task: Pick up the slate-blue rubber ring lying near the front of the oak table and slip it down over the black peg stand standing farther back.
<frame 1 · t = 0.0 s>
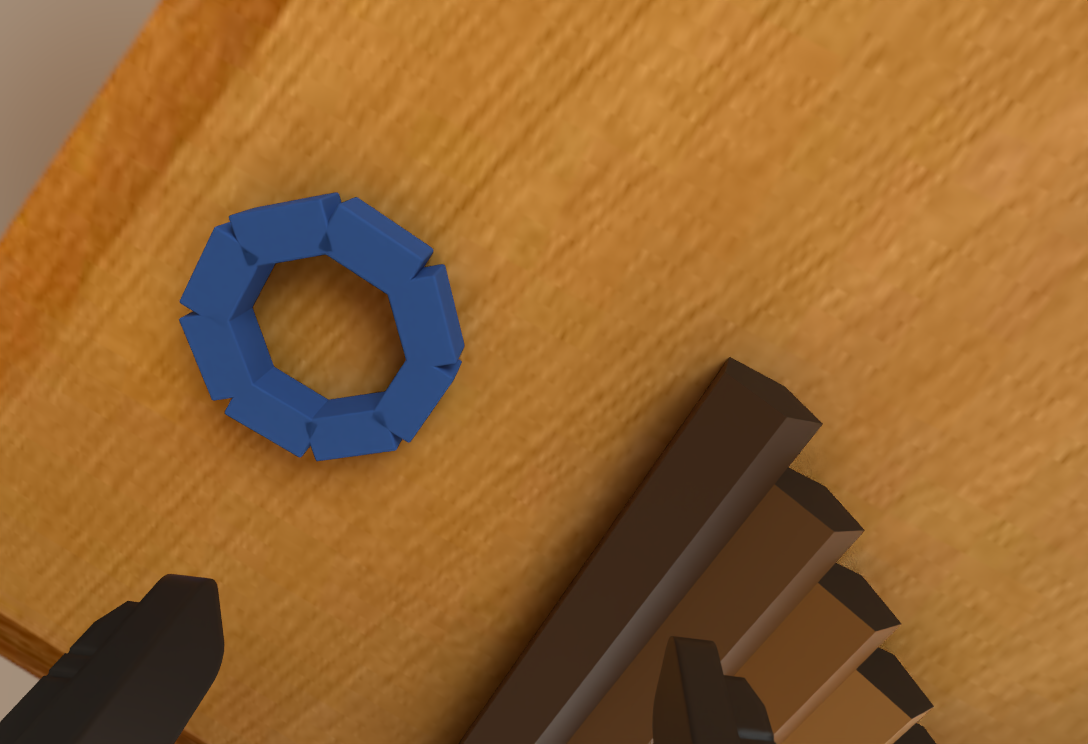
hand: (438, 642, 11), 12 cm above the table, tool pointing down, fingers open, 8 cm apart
ring: (335, 325, 22), on the table
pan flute: (794, 716, 28), on the table
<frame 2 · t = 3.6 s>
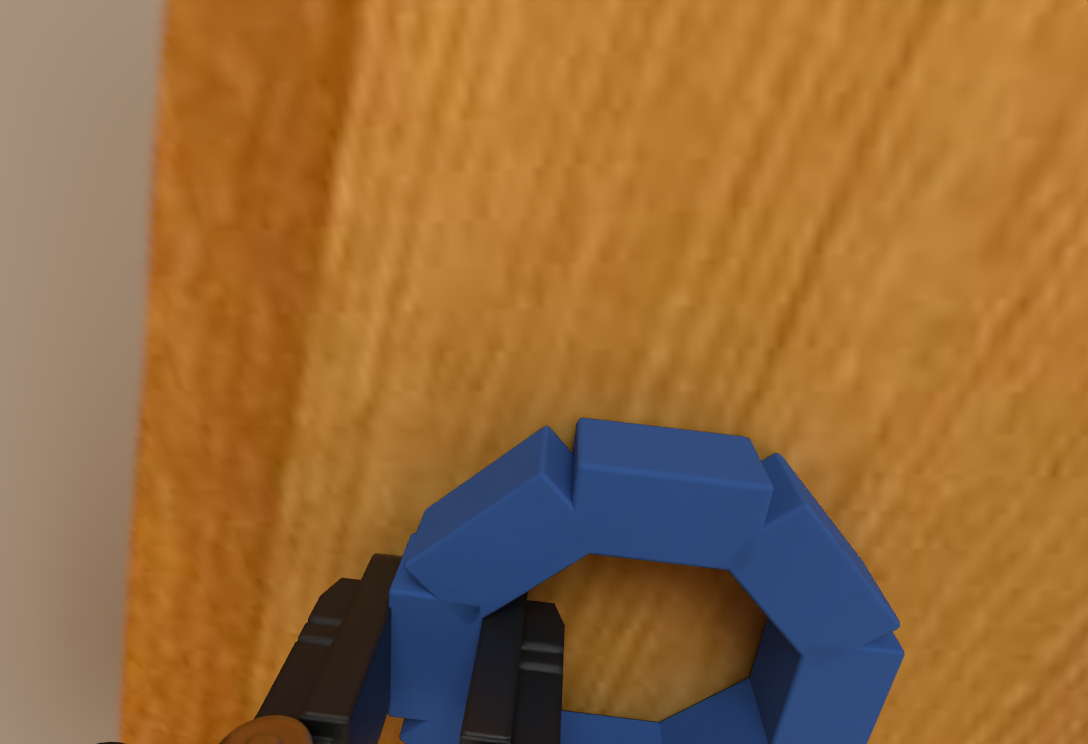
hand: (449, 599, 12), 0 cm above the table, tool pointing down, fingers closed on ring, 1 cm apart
ring: (626, 618, 12), on the table, touching gripper
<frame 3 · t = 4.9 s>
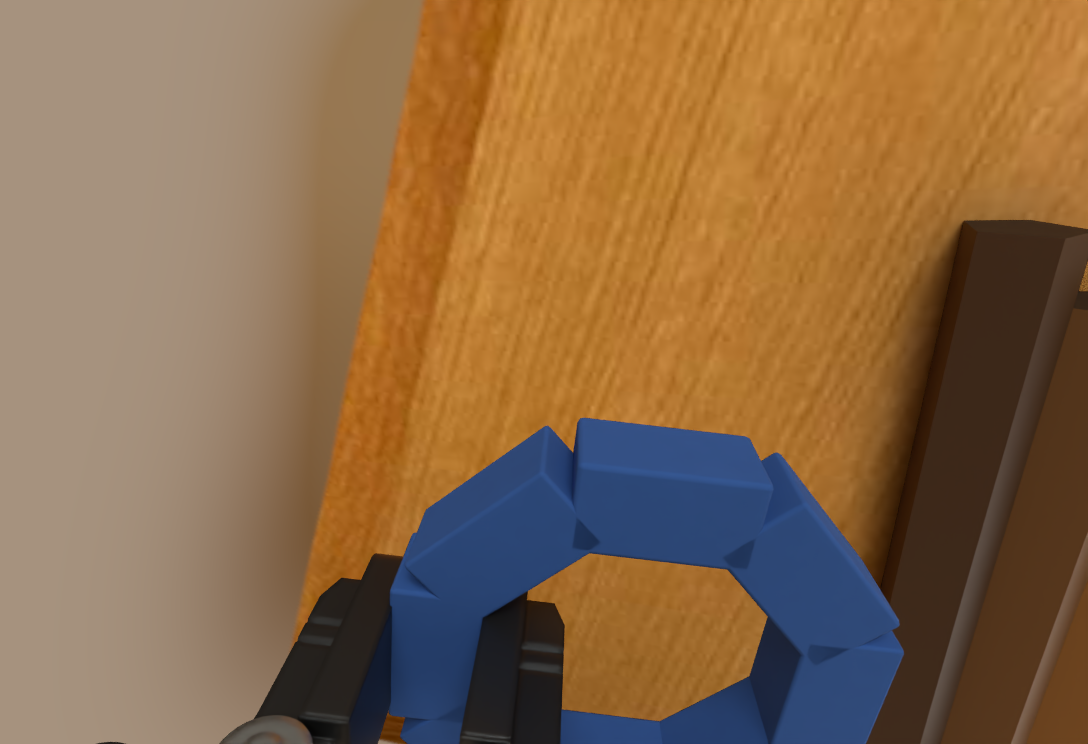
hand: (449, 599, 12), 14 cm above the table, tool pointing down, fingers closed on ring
ring: (626, 617, 12), point 13 cm above the table, touching gripper
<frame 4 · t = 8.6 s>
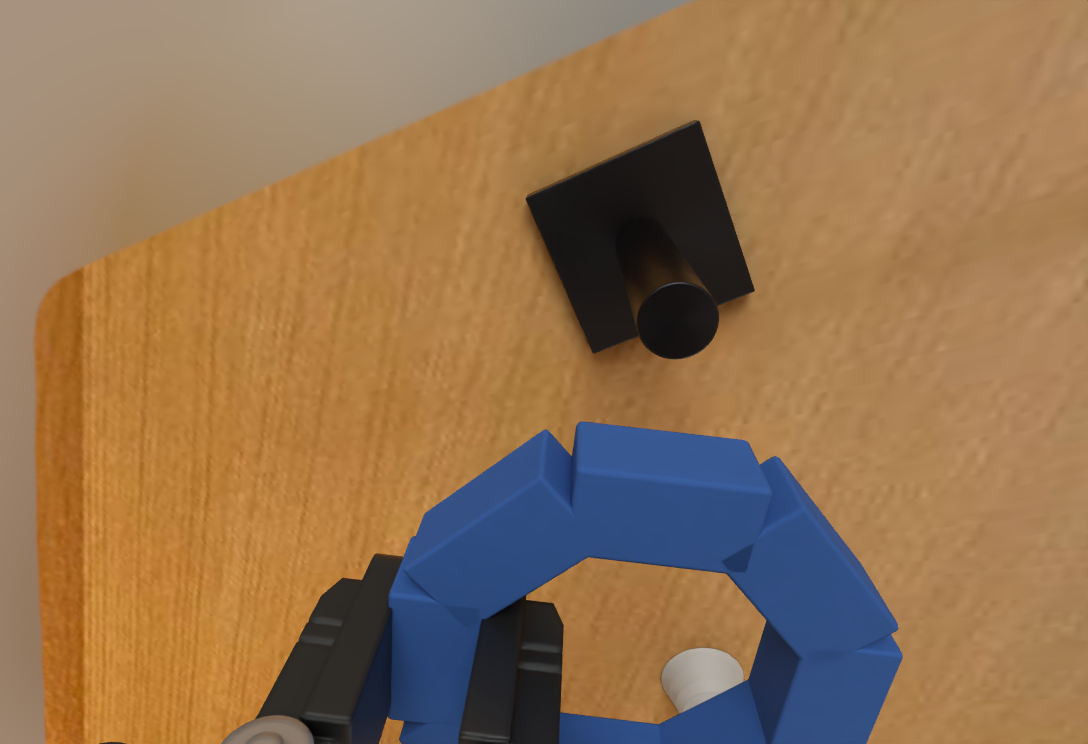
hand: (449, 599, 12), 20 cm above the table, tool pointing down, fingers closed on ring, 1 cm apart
black peg stand: (640, 241, 30), on the table
chalice: (701, 676, 40), on the table
ring: (625, 620, 12), point 20 cm above the table, touching gripper
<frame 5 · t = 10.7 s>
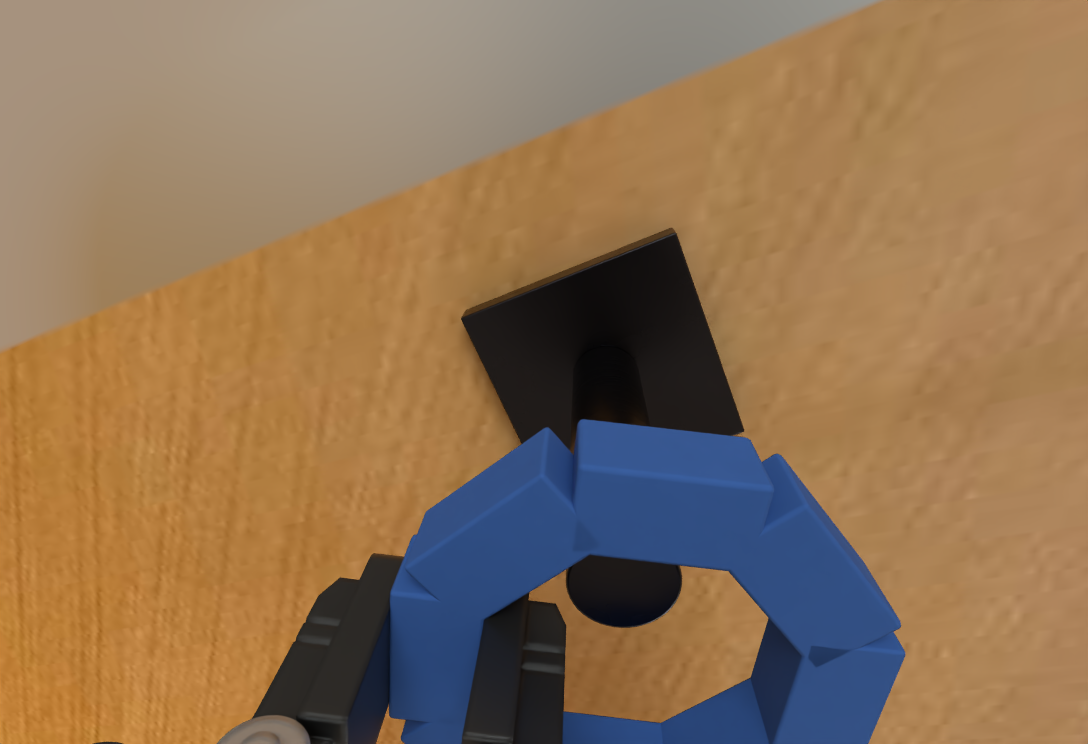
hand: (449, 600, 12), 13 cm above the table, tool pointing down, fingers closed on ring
black peg stand: (605, 366, 24), on the table
ring: (627, 619, 12), point 13 cm above the table, touching gripper
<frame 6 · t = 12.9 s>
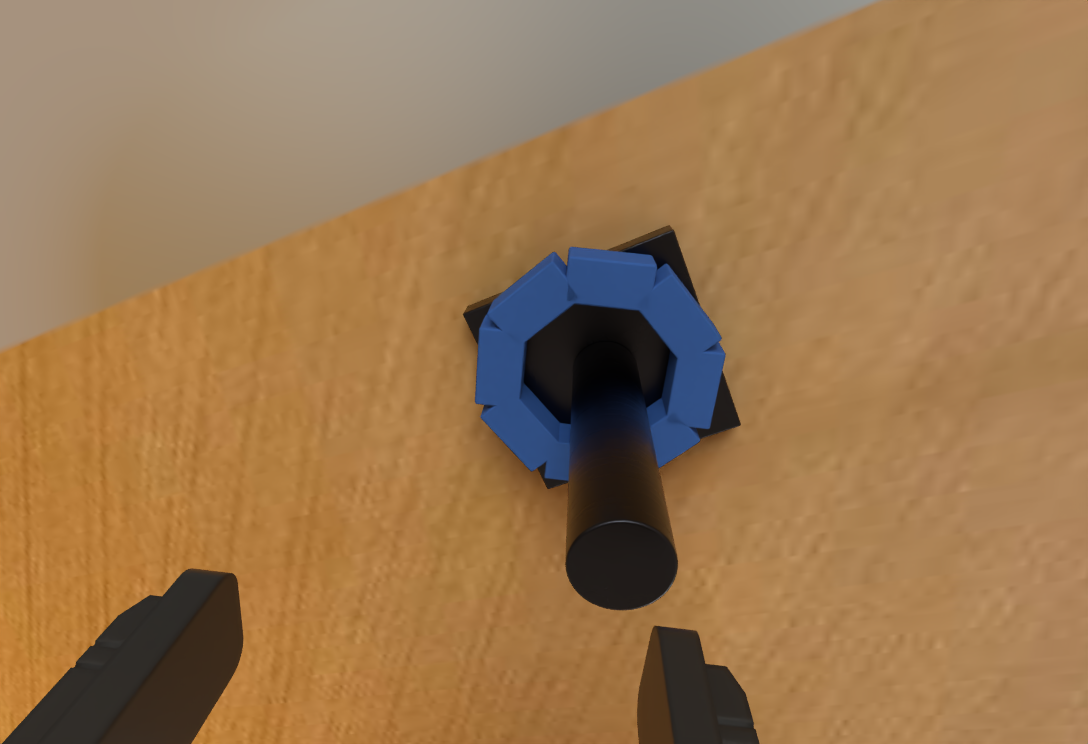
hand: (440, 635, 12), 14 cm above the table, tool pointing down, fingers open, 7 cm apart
black peg stand: (604, 361, 25), on the table
ring: (596, 362, 24), point 1 cm above the table, touching black peg stand
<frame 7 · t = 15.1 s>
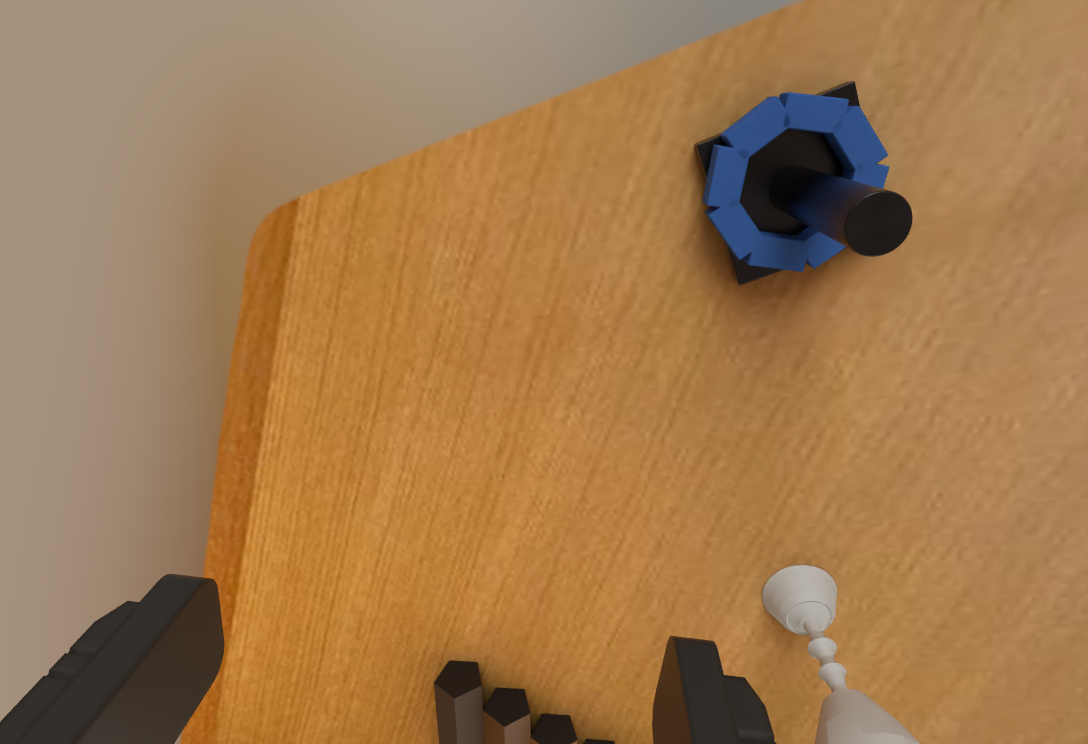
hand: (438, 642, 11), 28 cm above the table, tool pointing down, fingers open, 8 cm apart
black peg stand: (788, 187, 35), on the table
chalice: (798, 592, 45), on the table
ring: (787, 183, 34), point 1 cm above the table, touching black peg stand
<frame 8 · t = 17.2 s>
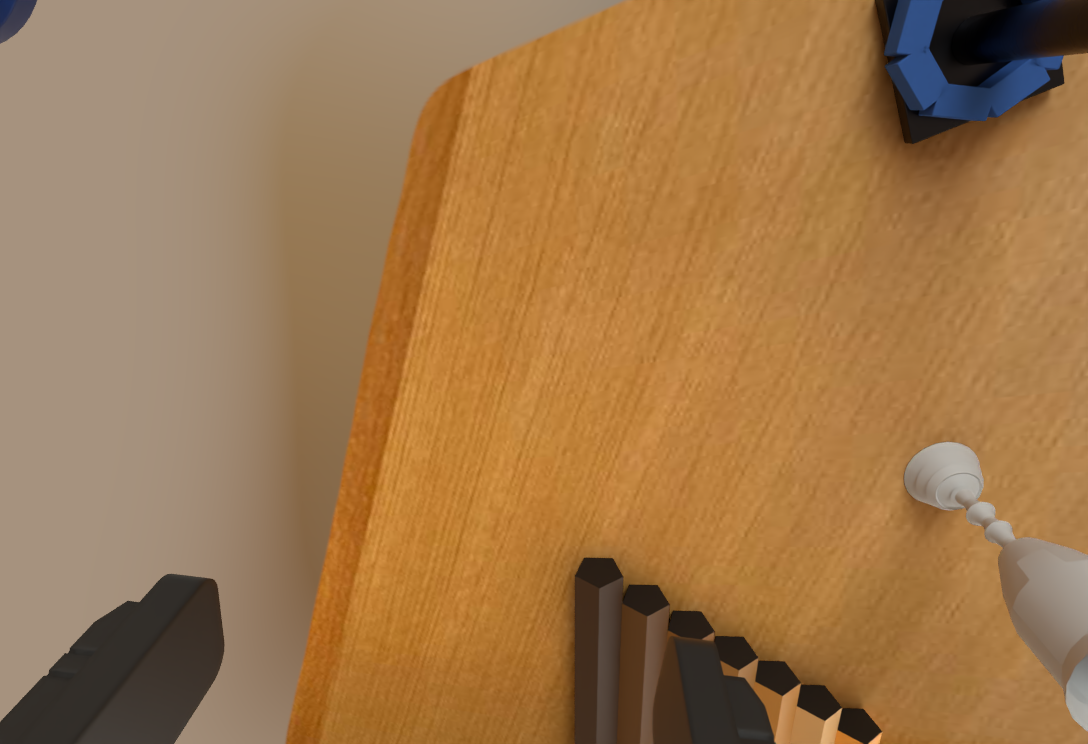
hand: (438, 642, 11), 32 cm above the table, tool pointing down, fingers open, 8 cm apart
black peg stand: (964, 41, 35), on the table
chalice: (940, 472, 46), on the table
ring: (970, 33, 34), point 1 cm above the table, touching black peg stand
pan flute: (723, 680, 54), on the table
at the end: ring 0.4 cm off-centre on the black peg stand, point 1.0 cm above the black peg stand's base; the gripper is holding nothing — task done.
